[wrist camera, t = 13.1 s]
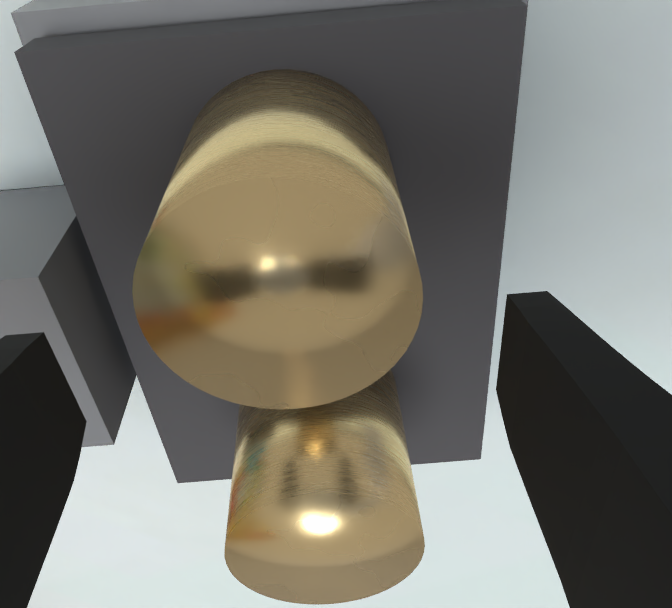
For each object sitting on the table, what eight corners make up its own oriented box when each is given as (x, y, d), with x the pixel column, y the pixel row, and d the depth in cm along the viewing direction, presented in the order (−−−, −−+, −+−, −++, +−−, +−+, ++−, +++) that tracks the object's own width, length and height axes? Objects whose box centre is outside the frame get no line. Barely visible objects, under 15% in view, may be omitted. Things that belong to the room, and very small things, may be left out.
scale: (514, -45, 15) (588, -6, 11) (474, 404, 25) (507, 512, 21) (-102, 12, 15) (-246, 72, 11) (97, 435, 25) (58, 547, 21)
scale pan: (512, -6, 14) (527, 5, 13) (473, 433, 23) (480, 459, 22) (34, 38, 14) (14, 52, 13) (182, 456, 23) (177, 483, 22)
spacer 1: (391, 251, 16) (421, 399, 12) (207, 266, 17) (171, 418, 12) (387, 59, 13) (425, 164, 9) (162, 78, 14) (92, 192, 9)
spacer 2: (388, 445, 21) (411, 602, 17) (244, 447, 21) (230, 606, 17) (405, 336, 18) (438, 492, 14) (237, 336, 18) (217, 495, 14)
